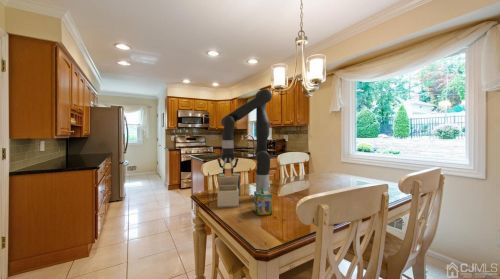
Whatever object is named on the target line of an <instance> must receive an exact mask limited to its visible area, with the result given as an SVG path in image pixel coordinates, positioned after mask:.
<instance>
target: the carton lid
mask: <svg viewBox="0 0 500 279" xmlns="http://www.w3.org/2000/svg"><path fill="white" fill-rule="evenodd" d="M216 179H217V186H218V185H238V179H239V176H231V168H225V176H222V177H219V176H217V178H216Z"/></svg>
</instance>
